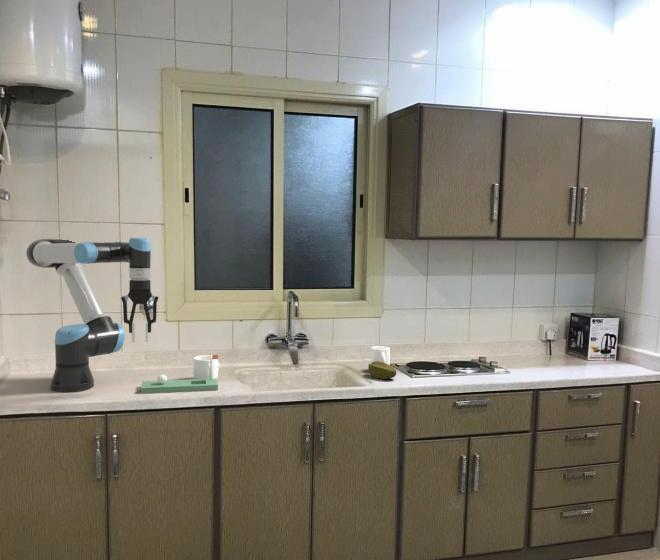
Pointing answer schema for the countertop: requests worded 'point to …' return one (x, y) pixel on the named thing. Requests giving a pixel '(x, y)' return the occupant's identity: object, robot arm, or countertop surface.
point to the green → (182, 384)
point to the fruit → (381, 370)
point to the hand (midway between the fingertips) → (140, 341)
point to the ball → (162, 379)
